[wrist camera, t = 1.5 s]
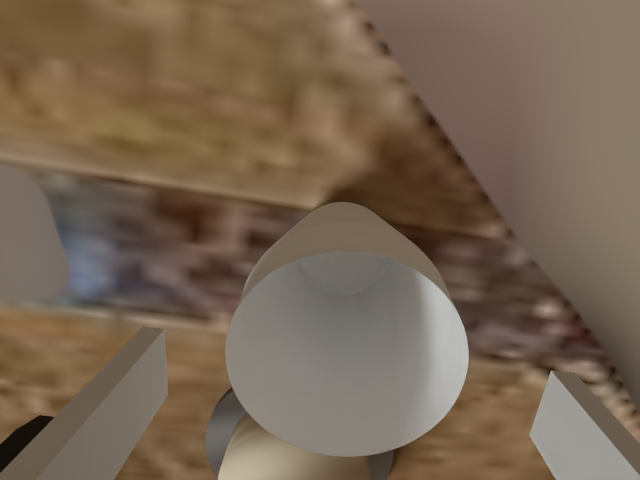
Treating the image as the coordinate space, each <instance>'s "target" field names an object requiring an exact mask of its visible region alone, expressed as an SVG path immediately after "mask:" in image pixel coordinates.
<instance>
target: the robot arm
mask: <svg viewBox="0 0 640 480" xmlns="http://www.w3.org/2000/svg"><path fill="white" fill-rule="evenodd" d="M167 395H168V383H167V363H166V343H165V329H161V328H152V327H142V328H141V329H140V330H139V331H138V332H137V333H136V334H135V335H134V336H133V337H132V338H131V339H130V340H129V341H128V342H127V343H126V344H125V345H124V346H123V347H122V349H121V350H120V351H119V352H118V353H117V354H116V355H115V356H114V357H113V358H112V359H111V360H110V361H109V362H108V363H107V364H106V365H105V366H104V367H103V368H102V369H101V370H100V371H99V372H98V373H97V374H96V375H95V376H94V377H93V378H92V379H91V380H90V381H89V382H88V383H87V384H86V386H85V387H84V388H83V389H82V390H81V391H80V392H79V393H78V394H77V395H76V396H75V397H74V398H73V399H72V400H71V401H70V402H69V403H68V404H67V405H66V406H65V407H64V408H63V409H62V410H61V411H60V412H59V413H58V414H57V415H56V416H55V417H50V416H41V415H40V416H38V417H36V418H35V419H33V420H31V421H30V422H28V423H26V424H25V425H23V426H22V427H20V428H18V429H17V430H15V431H14V432H13V433H12V434H11V435H10V436H9V437H8V438H7V439H6V440H5V441H4V442H2V443H1V444H0V480H114V478H115V477H116V475H117V474H118V472H119V471H120V469H121V467H122V466H123V464H124V463H125V461H126V460H127V458H128V457H129V455H130V453H131V452H132V450H133V449H134V447H135V446H136V444H137V442H138V441H139V439H140V438H141V436H142V435H143V433H144V431H145V430H146V428H147V427H148V425H149V424H150V422H151V420H152V419H153V417H154V416H155V414H156V413H157V411H158V409H159V408H160V406H161V405H162V403H163V402H164V400H165V399H166V397H167ZM530 437H531V439H532V440H533V442H534V444H535V445H536V447H537V449H538V450H539V452H540V454H541V455H542V457H543V459H544V460H545V462H546V464H547V465H548V467H549V469H550V470H551V472H552V474H553V475H554V477H555V479H556V480H640V443H639V442H638V441H637V440H636V439H635V438H634V437H633V436H632V435H631V434H630V433H629V432H628V430H627V429H626V428H625V427H624V426H623V425H622V424H621V423H620V422H619V421H618V420H617V419H616V418H615V416H614V415H613V414H612V413H611V412H610V411H609V410H608V409H607V408H606V407H605V406H604V405H603V403H602V402H601V401H600V400H599V399H598V398H597V397H596V396H595V395H594V394H593V393H592V392H591V391H590V389H589V388H588V387H587V386H586V385H585V384H584V383H583V382H582V381H581V380H580V379H579V378H578V377H577V375H576V374H575V373H568V372H559V371H551V373H550V376H549V379H548V381H547V384H546V387H545V390H544V393H543V396H542V399H541V402H540V405H539V408H538V411H537V414H536V417H535V420H534V423H533V426H532V429H531V432H530Z"/></svg>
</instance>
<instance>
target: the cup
mask: <svg viewBox="0 0 640 480" xmlns="http://www.w3.org/2000/svg"><path fill="white" fill-rule="evenodd" d="M225 362H226V368H227V373H228V377H229V380H230V383H231V386H232V388H233V390H234V392H235V394H236V396H237V398H238V400H239V401H240V403H241V404H242V406H243V407H244V409H245V410H246V411H247V412H248V414H249V415H250V416H251V417H252V418H253V419H254V420H255V421H256V422H257V423H258V424H259V425H261V426H262V427H263V428H264V429H265V430H267V431H268V432H270V433H271V434H272V435H274V436H276V437H277V438H279V439H281V440H282V441H284V442H286V443H288V444H290V445H293V446H295V447H298V448H300V449H303V450H307V451H310V452H314V453H318V454H323V455H330V456H340V457H356V456H367V455H374V454H378V453H383V452H387V451H390V450H393V449H396V448H399V447H401V446H404V445H406V444H408V443H410V442H412V441H414V440H416V439H417V438H419V437H420V436H422V435H424V434H425V433H426V432H428V431H429V430H430V429H432V428H433V427H434V426H435V425H436V424H437V423H439V422H440V421H441V419H442V418H443V417H444V416H445V415H446V414H447V413H448V411H449V410H450V409H451V407H452V406H453V404H454V403H455V401H456V400H457V398H458V396H459V394H460V392H461V390H462V387H463V384H464V381H465V378H466V373H467V368H468V343H467V337H466V333H465V329H464V326H463V324H462V321H461V319H460V317H459V314H458V312H457V310H456V308H455V306H454V304H453V302H452V300H451V298H450V296H449V293H448V291H447V289H446V286H445V284H444V282H443V279H442V278H441V276H440V274H439V272H438V270H437V269H436V267H435V266H434V265H433V263H432V262H431V261H430V260H429V258H428V257H427V256H426V255H425V254H424V253H423V252H422V251H421V250H420V249H419V248H418V247H417V246H416V245H415V244H414V243H412V242H411V241H410V240H409V239H407V238H406V237H405V236H403V235H402V234H401V233H400V232H398V231H397V230H396V229H394V228H393V227H392V226H391V225H389V224H388V223H387V222H385V221H384V220H383V219H382V218H380V217H379V216H378V215H376V214H375V213H374V212H372V211H371V210H369V209H368V208H366V207H364V206H361V205H359V204H355V203H350V202H335V203H329V204H326V205H323V206H321V207H319V208H317V209H315V210H313V211H312V212H311V213H309V214H308V215H307V216H306V217H305V218H304V219H302V220H301V221H300V222H299V223H298V224H297V225H296V226H294V227H293V228H292V229H291V230H290V231H289V232H288V233H286V234H285V235H284V236H283V237H282V238H281V239H280V240H279V241H277V242H276V243H275V244H274V245H273V246H272V247H271V248H270V249H269V250H268V251H267V252H266V253H265V254H264V255H263V256H262V258H261V259H260V260H259V261H258V263H257V264H256V265H255V267H254V268H253V270H252V272H251V273H250V275H249V277H248V279H247V282H246V284H245V287H244V290H243V293H242V296H241V299H240V301H239V304H238V306H237V308H236V311H235V313H234V315H233V317H232V320H231V322H230V325H229V329H228V332H227V337H226V344H225Z"/></svg>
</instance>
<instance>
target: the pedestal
mask: <svg viewBox="0 0 640 480" xmlns="http://www.w3.org/2000/svg"><path fill="white" fill-rule="evenodd" d="M205 443H206V452H207V456H208V459H209V462H210V465H211V467H212V469H213V471H214V472H215V474H216V476H217V477H218V480H386V479H387V477H388V475H389V472H390V470H391V466H392V463H393V454H394V452H393V450H390V451H387V452H383V453H378V454H374V455H367V456H356V457H340V456H330V455H323V454H318V453H314V452H310V451H307V450H303V449H300V448H298V447H295V446H293V445H290V444H288V443H286V442H284V441H282V440H281V439H279V438H277V437H276V436H274V435H272V434H271V433H270V432H268V431H267V430H265V429H264V428H263V427H262V426H261V425H259V424H258V423H257V422H256V421H255V420H254V419H253V418H252V417H251V416H250V415H249V414H248V412H247V411H246V410H245V409H244V407H243V406H242V404H241V403H240V401H239V400H238V398H237V396H236V394H235V392H234V390H233V388H231V389H230V390H228V391H227V392H226V394H225V395H224V396H223V397H222V398H221V399H220V401H219V402H218V404H217V405H216V407H215V409H214V412H213V414H212V416H211V419H210V421H209V423H208V427H207V431H206V442H205Z"/></svg>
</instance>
